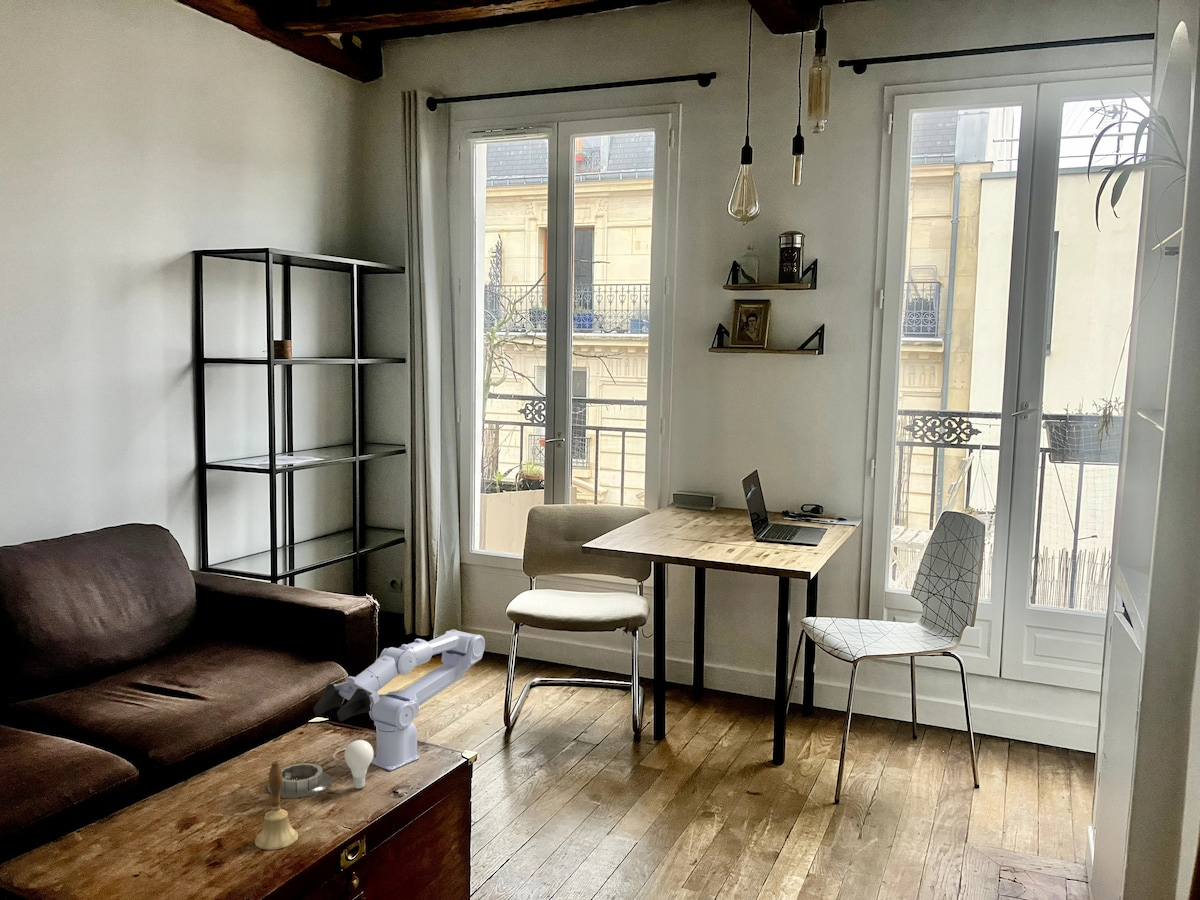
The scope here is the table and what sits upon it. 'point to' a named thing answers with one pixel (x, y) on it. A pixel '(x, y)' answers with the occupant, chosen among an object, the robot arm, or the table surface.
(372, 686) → the robot arm
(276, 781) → the hand bell
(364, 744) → the lightbulb
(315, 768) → the lamp base
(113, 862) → the table surface
